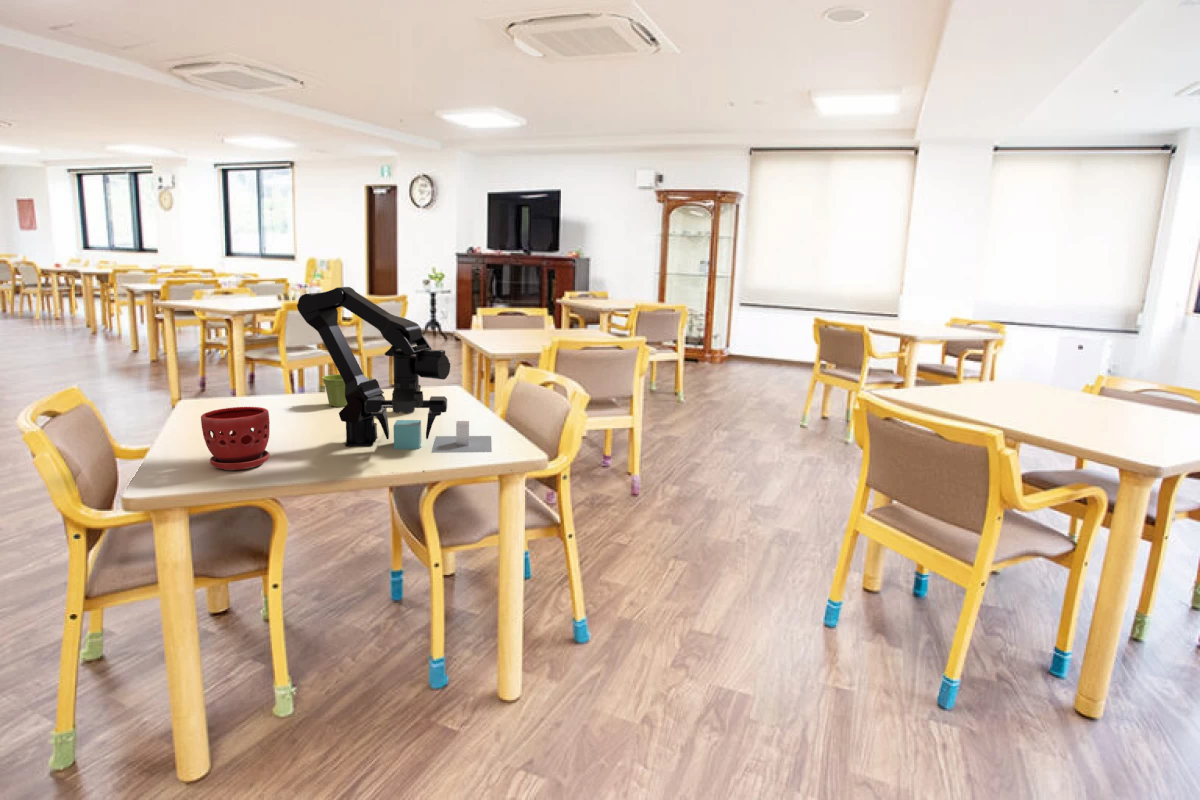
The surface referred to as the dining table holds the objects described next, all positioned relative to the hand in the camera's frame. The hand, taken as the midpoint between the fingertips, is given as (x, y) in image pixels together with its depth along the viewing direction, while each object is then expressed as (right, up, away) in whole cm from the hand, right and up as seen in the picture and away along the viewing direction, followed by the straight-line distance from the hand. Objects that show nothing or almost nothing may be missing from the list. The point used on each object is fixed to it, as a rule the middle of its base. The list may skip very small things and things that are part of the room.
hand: (407, 438), depth 166 cm
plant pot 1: (-33, -5, -15) cm, 36 cm away
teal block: (0, -3, +1) cm, 3 cm away
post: (+13, -1, +3) cm, 13 cm away
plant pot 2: (-32, +8, +42) cm, 53 cm away
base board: (+13, -2, +4) cm, 13 cm away
